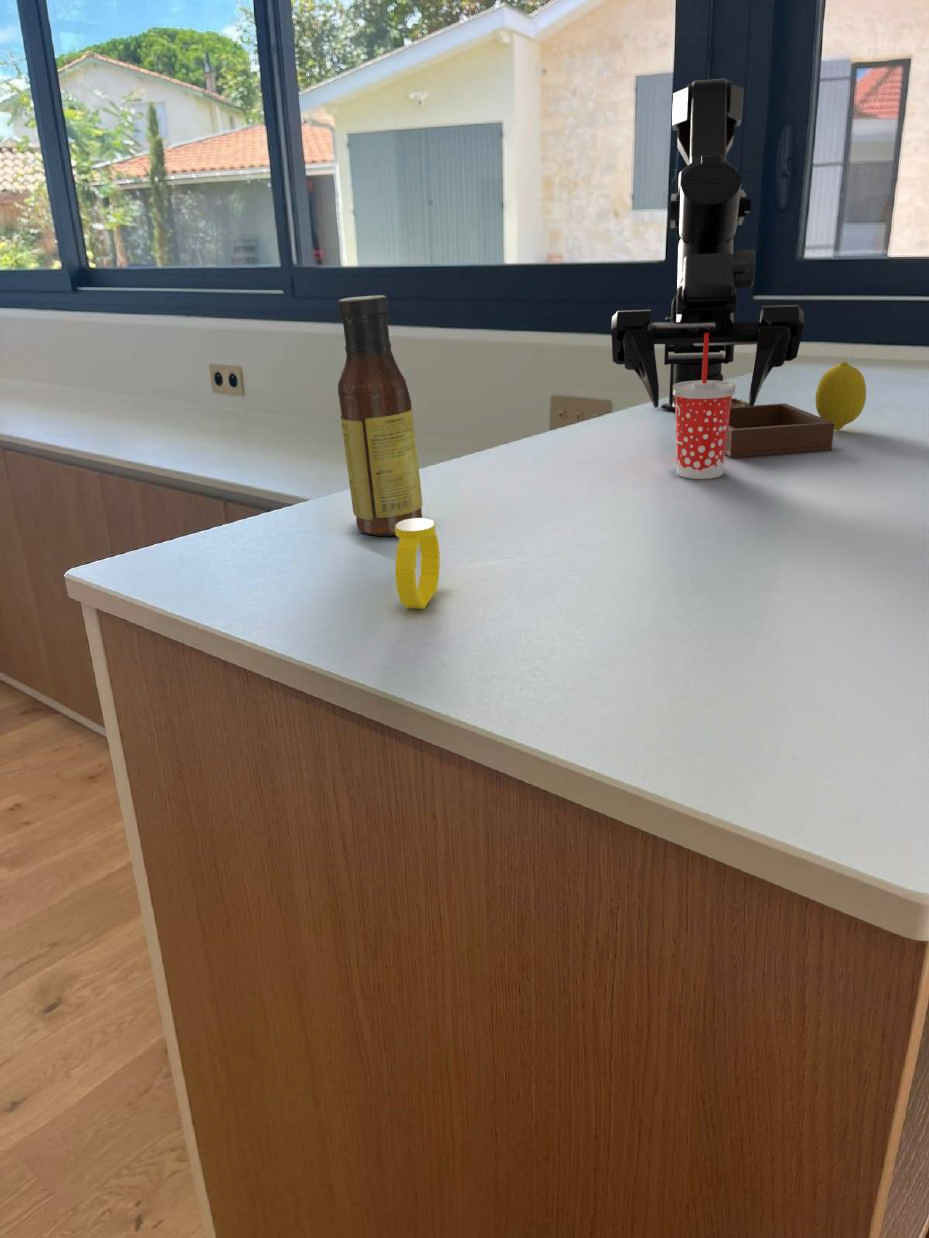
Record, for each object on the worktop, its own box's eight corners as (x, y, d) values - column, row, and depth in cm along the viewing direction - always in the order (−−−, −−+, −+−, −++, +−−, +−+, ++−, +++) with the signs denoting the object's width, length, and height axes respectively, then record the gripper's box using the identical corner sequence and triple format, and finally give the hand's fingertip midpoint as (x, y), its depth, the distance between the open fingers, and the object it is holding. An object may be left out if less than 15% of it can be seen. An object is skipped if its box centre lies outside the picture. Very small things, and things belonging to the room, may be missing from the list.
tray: (691, 434, 115) (692, 409, 114) (783, 427, 116) (785, 403, 115) (730, 458, 103) (732, 430, 102) (831, 450, 104) (834, 423, 103)
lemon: (869, 434, 111) (877, 364, 107) (821, 436, 111) (828, 366, 108) (852, 424, 116) (859, 357, 113) (806, 426, 116) (812, 359, 113)
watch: (415, 586, 71) (410, 510, 69) (450, 588, 71) (446, 511, 68) (389, 616, 66) (381, 535, 64) (426, 619, 65) (421, 537, 63)
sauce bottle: (433, 519, 87) (419, 292, 79) (408, 540, 82) (389, 299, 74) (369, 516, 89) (348, 294, 81) (339, 536, 84) (315, 301, 76)
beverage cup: (683, 463, 102) (689, 328, 96) (739, 469, 98) (748, 330, 93) (659, 477, 97) (664, 336, 92) (716, 483, 94) (725, 337, 88)
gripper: (613, 226, 94) (606, 355, 88) (810, 216, 90) (816, 350, 85) (616, 302, 104) (609, 423, 98) (793, 296, 100) (797, 421, 95)
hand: (703, 404), depth 94 cm, fingers open, 9 cm apart
